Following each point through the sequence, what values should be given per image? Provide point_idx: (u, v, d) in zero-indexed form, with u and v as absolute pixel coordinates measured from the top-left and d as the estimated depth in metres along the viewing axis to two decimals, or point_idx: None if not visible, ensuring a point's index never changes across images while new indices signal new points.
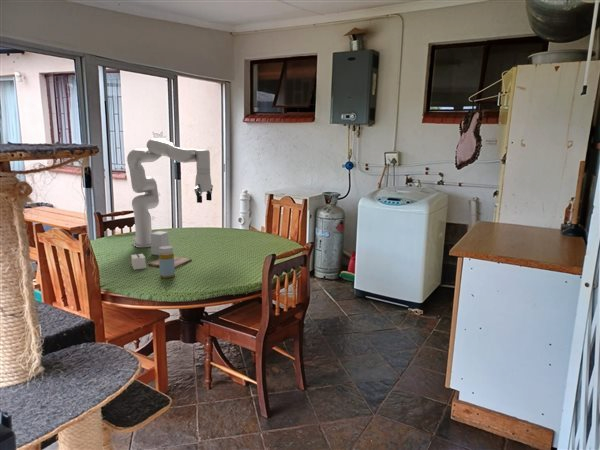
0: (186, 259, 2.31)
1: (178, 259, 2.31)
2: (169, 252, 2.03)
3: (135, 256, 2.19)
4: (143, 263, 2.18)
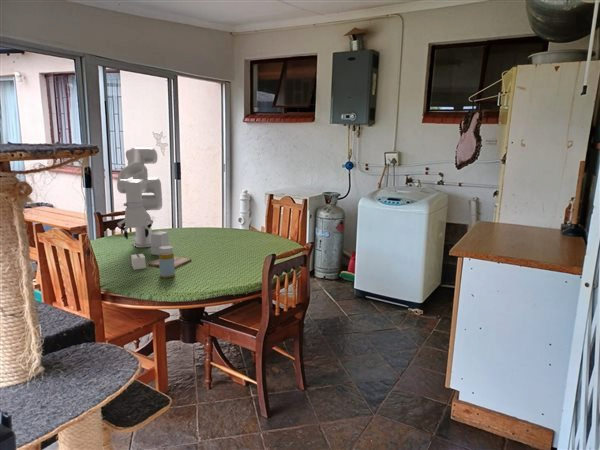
0: (186, 259, 2.31)
1: (178, 259, 2.31)
2: (169, 252, 2.03)
3: (135, 256, 2.19)
4: (143, 263, 2.18)
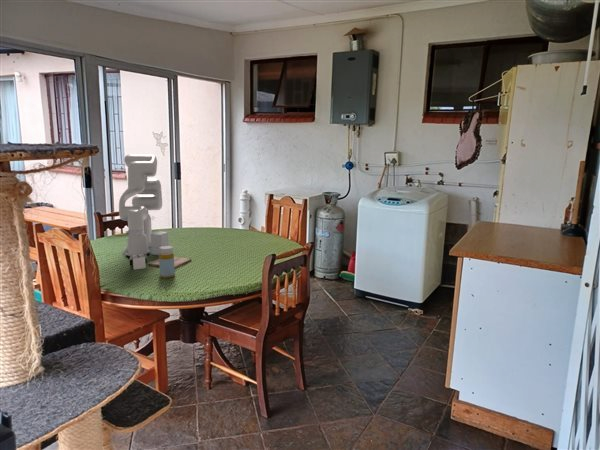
0: (186, 259, 2.31)
1: (178, 259, 2.31)
2: (169, 252, 2.03)
3: (135, 256, 2.19)
4: (143, 263, 2.18)
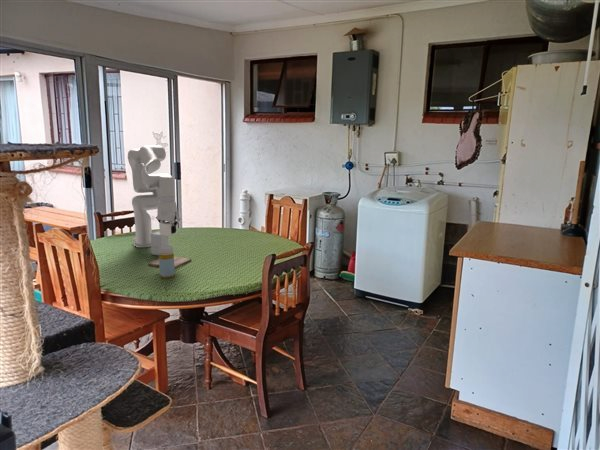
0: (186, 259, 2.31)
1: (178, 259, 2.31)
2: (169, 252, 2.03)
3: (165, 222, 2.23)
4: (167, 230, 2.20)
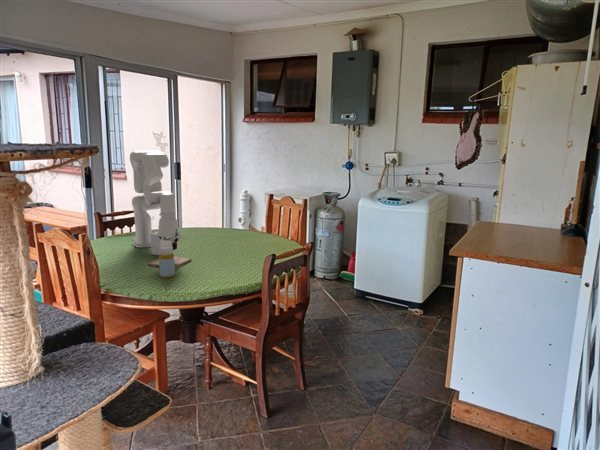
0: (186, 259, 2.31)
1: (178, 259, 2.31)
2: (169, 252, 2.03)
3: (166, 239, 2.25)
4: None
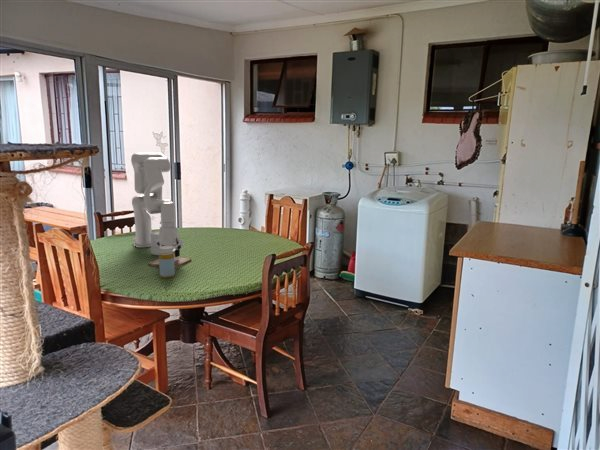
0: (186, 259, 2.31)
1: None
2: (169, 252, 2.03)
3: None
4: None
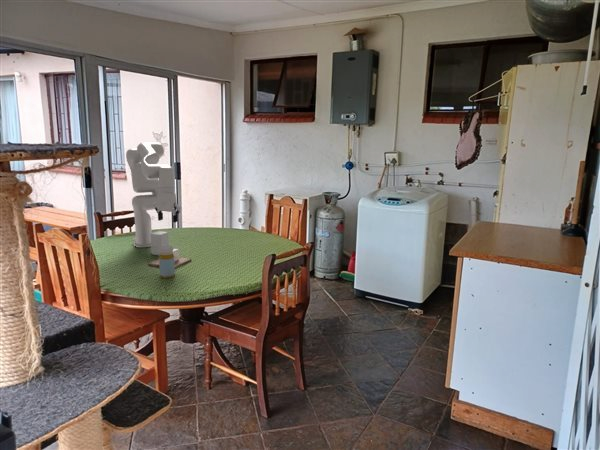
0: (186, 259, 2.31)
1: None
2: (169, 252, 2.03)
3: None
4: None
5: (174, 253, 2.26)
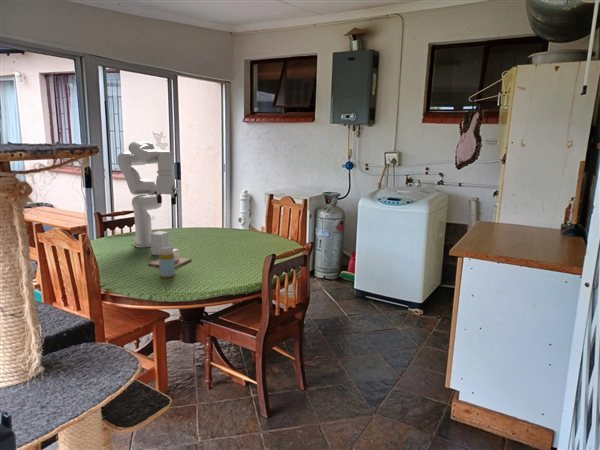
0: (186, 259, 2.31)
1: None
2: (169, 252, 2.03)
3: None
4: None
5: (174, 253, 2.26)
